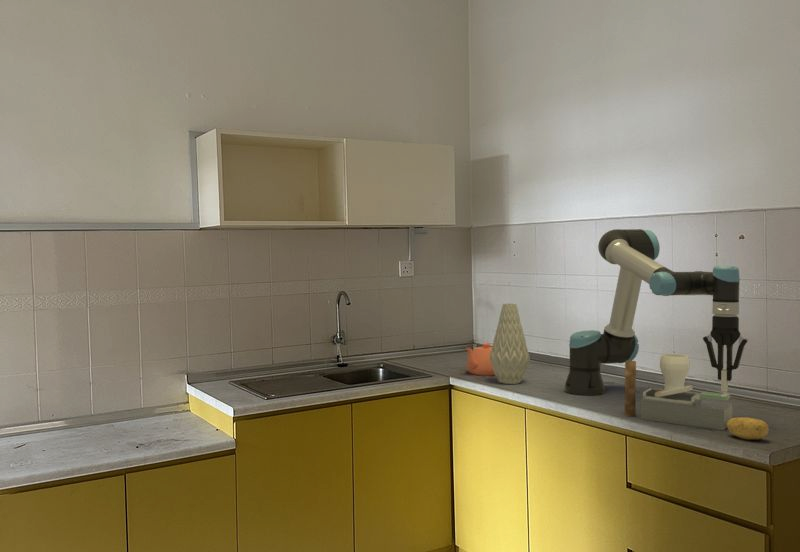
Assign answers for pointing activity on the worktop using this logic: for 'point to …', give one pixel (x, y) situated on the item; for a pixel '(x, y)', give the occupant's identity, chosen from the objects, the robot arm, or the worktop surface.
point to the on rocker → (714, 395)
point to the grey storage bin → (685, 410)
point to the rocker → (673, 391)
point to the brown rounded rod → (630, 388)
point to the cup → (674, 370)
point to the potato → (748, 428)
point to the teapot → (480, 360)
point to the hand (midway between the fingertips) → (724, 390)
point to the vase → (509, 347)
